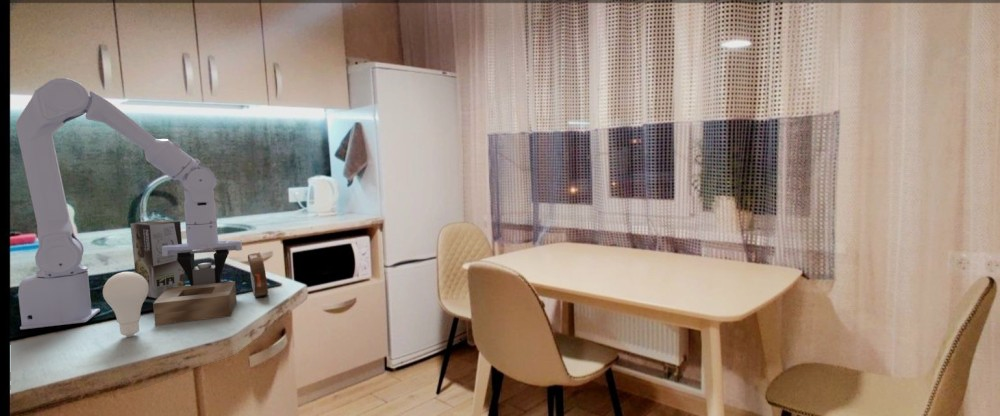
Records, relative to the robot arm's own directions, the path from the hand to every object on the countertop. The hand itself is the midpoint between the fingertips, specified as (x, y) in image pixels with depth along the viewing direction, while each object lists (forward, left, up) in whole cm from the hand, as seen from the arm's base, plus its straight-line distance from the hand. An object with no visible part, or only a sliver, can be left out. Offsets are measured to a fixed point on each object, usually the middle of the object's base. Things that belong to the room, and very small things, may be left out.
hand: (206, 286), depth 108 cm
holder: (0, -11, -2) cm, 11 cm away
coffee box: (-10, +9, -3) cm, 14 cm away
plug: (0, 0, -2) cm, 2 cm away
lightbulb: (-8, -22, -3) cm, 24 cm away
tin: (+10, 0, -3) cm, 10 cm away
